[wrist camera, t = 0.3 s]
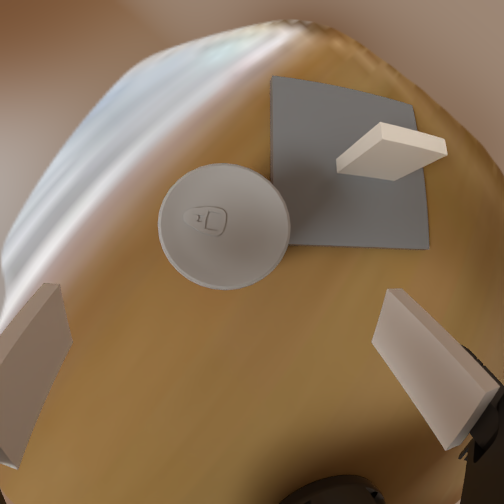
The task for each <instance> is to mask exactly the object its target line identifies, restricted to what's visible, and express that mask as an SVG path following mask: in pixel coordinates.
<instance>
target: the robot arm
mask: <svg viewBox="0 0 504 504" xmlns="http://www.w3.org/2000/svg"><path fill="white" fill-rule="evenodd" d="M72 343H73V341H72V337H71V333H70V329H69V325H68V321H67V316H66V312H65V307H64V302H63V298H62V293H61V287H60V284H50V283H44V284H43V285H42V286H41V287H40V288H39V289H38V290H37V291H36V293H35V294H34V295H33V296H32V297H31V298H30V300H29V301H28V302H27V303H26V304H25V305H24V307H23V308H22V309H21V310H20V311H19V313H18V314H17V315H16V316H15V318H14V319H13V320H12V321H11V322H10V324H9V325H8V326H7V327H6V329H5V330H4V331H3V333H2V334H1V335H0V463H1V464H4V465H6V466H9V467H12V468H15V469H17V470H18V469H19V466H20V463H21V460H22V457H23V455H24V452H25V449H26V446H27V444H28V441H29V439H30V436H31V433H32V431H33V428H34V426H35V423H36V421H37V419H38V416H39V414H40V411H41V409H42V407H43V404H44V402H45V400H46V398H47V395H48V393H49V391H50V389H51V386H52V384H53V382H54V380H55V378H56V376H57V374H58V371H59V369H60V367H61V365H62V363H63V361H64V359H65V357H66V355H67V353H68V351H69V349H70V347H71V345H72ZM372 344H373V345H374V347H375V348H376V349H377V351H378V352H379V354H380V355H381V356H382V358H383V359H384V361H385V362H386V364H387V365H388V366H389V368H390V369H391V371H392V372H393V374H394V375H395V376H396V378H397V379H398V381H399V382H400V384H401V385H402V387H403V388H404V389H405V391H406V392H407V394H408V395H409V397H410V398H411V400H412V401H413V403H414V404H415V406H416V407H417V409H418V410H419V411H420V413H421V414H422V416H423V417H424V419H425V420H426V422H427V423H428V425H429V426H430V428H431V430H432V431H433V433H434V434H435V436H436V437H437V439H438V440H439V442H440V443H441V445H442V446H443V448H444V449H445V451H446V450H449V449H451V448H453V447H456V446H458V445H460V444H461V443H462V442H463V440H464V439H465V438H466V437H467V435H468V434H469V433H470V434H471V435H472V437H473V438H472V440H471V441H470V442H469V443H468V445H467V446H466V447H465V449H464V450H463V451H462V452H461V453H460V455H459V458H458V459H461V458H462V457H463V456H464V455H465V453H466V452H468V455H467V457H466V458H465V459H464V460H466V461H467V464H466V472H465V478H464V485H463V491H462V496H461V502H460V504H504V385H503V384H502V383H501V382H500V381H499V380H498V379H497V378H496V377H495V376H494V375H493V374H492V373H491V372H490V371H489V369H488V368H487V367H486V366H483V363H482V362H481V361H480V360H479V359H477V357H476V356H475V355H474V354H473V353H472V352H471V351H470V350H469V349H467V348H466V347H464V346H463V345H461V344H459V343H458V342H457V341H456V340H455V339H454V338H453V337H452V336H451V335H450V334H449V333H448V332H447V331H446V330H445V329H444V328H443V327H442V326H441V325H440V324H439V323H438V322H437V321H436V320H435V319H434V318H432V317H431V316H430V315H429V314H428V313H427V312H426V311H425V310H424V309H423V308H422V307H421V306H420V305H419V304H418V303H417V302H416V301H414V300H413V299H412V298H411V297H410V296H409V295H408V294H407V293H406V292H405V291H404V290H403V289H387V292H386V295H385V299H384V303H383V306H382V310H381V313H380V316H379V320H378V323H377V326H376V330H375V333H374V336H373V339H372ZM0 504H6V502H5V500H4V497H3V495H2V492H1V490H0ZM280 504H385V500H384V497H383V495H382V494H381V492H380V491H379V490H378V489H377V488H376V486H375V485H374V484H373V483H372V482H371V481H369V480H368V479H366V478H363V477H360V476H354V475H341V476H334V477H329V478H326V479H322V480H319V481H316V482H313V483H311V484H309V485H307V486H304V487H303V488H301V489H299V490H297V491H295V492H294V493H292V494H291V495H289V496H288V497H287V498H285V499H284V500H283V501H282V502H281V503H280Z"/></svg>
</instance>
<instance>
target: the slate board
mask: <svg viewBox="0 0 504 504" xmlns="http://www.w3.org/2000/svg"><path fill="white" fill-rule="evenodd" d="M379 122H383V123H387V124H391V125H396V126H400V127H403V128H407V129H411V130H415V131H417V127H416V122H415V116H414V111H413V107H412V105H409V104H406V103H403V102H399V101H396V100H392V99H389V98H385V97H381V96H377V95H373V94H369V93H365V92H361V91H357V90H353V89H348V88H343V87H339V86H334V85H329V84H323V83H318V82H312V81H306V80H300V79H293V78H286V77H279V76H272V78H271V80H270V140H271V183H272V184H273V186H274V187H275V188H276V189H277V190H278V191H279V193H280V195H281V196H282V198H283V200H284V201H285V204H286V206H287V209H288V212H289V217H290V224H291V229H290V239H289V243H288V245H294V246H324V247H353V248H380V249H406V250H428V249H429V230H428V214H427V201H426V191H425V181H424V173H423V167H422V168H420V169H418V170H416V171H414V172H412V173H410V174H408V175H406V176H404V177H402V178H400V179H398V180H395V181H391V180H385V179H378V178H371V177H364V176H356V175H349V174H341V173H337V166H336V159H337V158H338V157H339V156H340V155H342V154H343V153H344V152H345V151H346V150H347V149H349V148H350V147H351V146H352V145H353V144H354V143H356V142H357V141H358V140H359V139H360V138H362V137H363V136H364V135H365V134H366V133H367V132H369V131H370V130H371V129H372V128H373V127H375V126H376V125H377V124H378V123H379Z"/></svg>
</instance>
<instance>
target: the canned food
mask: <svg viewBox="0 0 504 504" xmlns="http://www.w3.org/2000/svg"><path fill="white" fill-rule="evenodd" d="M290 229H291V224H290V217H289V212H288V209H287V206H286V204H285V201H284V200H283V198H282V196H281V195H280V193H279V191H278V190H277V189H276V188H275V187H274V186H273V184H272V183H271V182H270V181H268V180H267V179H266V178H265V177H263V176H262V175H261V174H259V173H257V172H255V171H253V170H251V169H249V168H246V167H243V166H240V165H235V164H227V163H220V164H210V165H206V166H202V167H199V168H197V169H195V170H192V171H190V172H188V173H187V174H185V175H184V176H183V177H181V178H180V179H179V180H178V181H177V182H176V183H175V184H174V185H173V186H172V187H171V188H170V189H169V191H168V193H167V194H166V196H165V198H164V200H163V202H162V205H161V208H160V211H159V218H158V231H159V239H160V242H161V246H162V249H163V251H164V253H165V255H166V257H167V258H168V260H169V262H170V263H171V264H172V265H173V266H174V268H175V269H176V270H177V271H178V272H179V273H181V274H182V275H183V276H184V277H186V278H187V279H188V280H190V281H192V282H194V283H196V284H198V285H201V286H204V287H207V288H211V289H219V290H232V289H240V288H243V287H246V286H250V285H252V284H254V283H256V282H258V281H260V280H261V279H263V278H264V277H266V276H267V275H268V274H269V273H270V272H272V271H273V270H274V269H275V267H276V266H277V265H278V264H279V262H280V261H281V260H282V258H283V256H284V254H285V252H286V250H287V247H288V243H289V239H290Z"/></svg>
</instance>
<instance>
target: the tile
mask: <svg viewBox="0 0 504 504" xmlns="http://www.w3.org/2000/svg"><path fill="white" fill-rule="evenodd" d="M446 155H447V149H446V143H445V139H442V138H439V137H436V136H432V135H429V134H426V133H422V132H418V131H415V130H411V129H407V128H403V127H400V126H396V125H391V124H387V123H383V122H379V123H378V124H377V125H376V126H375V127H373V128H372V129H371V130H370V131H369V132H367V133H366V134H365V135H364V136H363V137H362V138H360V139H359V140H358V141H357V142H356V143H354V144H353V145H352V146H351V147H350V148H349V149H347V150H346V151H345V152H344V153H343V154H342V155H340V156H339V157H338V158H337V159H336V166H337V173H341V174H349V175H356V176H364V177H371V178H378V179H385V180H391V181H395V180H398V179H400V178H402V177H404V176H406V175H408V174H410V173H412V172H414V171H416V170H418V169H420V168H422V167H424V166H426V165H428V164H430V163H432V162H434V161H436V160H438V159H440V158H442V157H444V156H446Z"/></svg>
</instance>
